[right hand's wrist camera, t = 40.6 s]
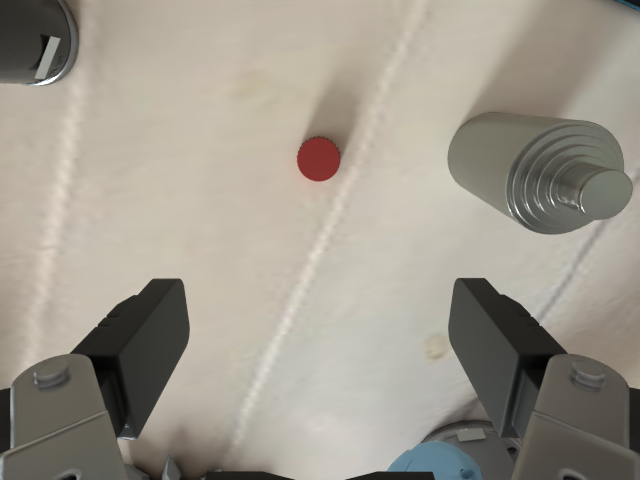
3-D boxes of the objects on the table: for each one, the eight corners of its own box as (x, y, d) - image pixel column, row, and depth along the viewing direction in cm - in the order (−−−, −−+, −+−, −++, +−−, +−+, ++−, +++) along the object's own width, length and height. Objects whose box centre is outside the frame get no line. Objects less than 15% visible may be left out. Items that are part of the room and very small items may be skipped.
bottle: (431, 151, 39) (511, 191, 23) (499, 94, 37) (639, 92, 21) (476, 207, 41) (579, 281, 25) (542, 156, 39) (701, 199, 23)
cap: (302, 182, 40) (301, 185, 38) (293, 140, 38) (292, 142, 37) (342, 174, 39) (343, 177, 38) (335, 132, 38) (336, 133, 37)
